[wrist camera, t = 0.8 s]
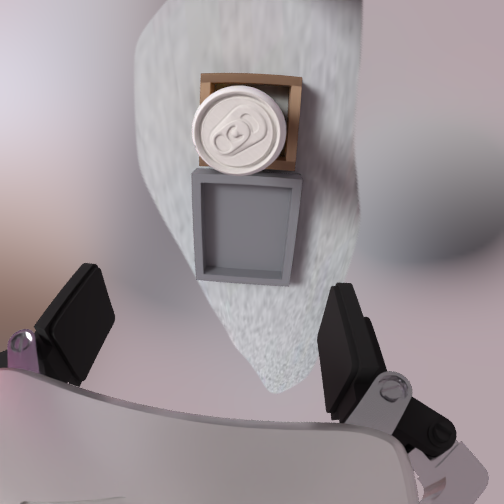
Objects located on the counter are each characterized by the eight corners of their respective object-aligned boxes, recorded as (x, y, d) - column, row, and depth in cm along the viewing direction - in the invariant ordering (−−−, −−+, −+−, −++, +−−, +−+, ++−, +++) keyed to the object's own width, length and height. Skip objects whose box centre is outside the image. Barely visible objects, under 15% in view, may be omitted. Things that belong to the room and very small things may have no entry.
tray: (196, 168, 32) (191, 173, 30) (300, 174, 32) (302, 179, 30) (200, 269, 39) (196, 279, 37) (287, 275, 39) (288, 286, 37)
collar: (206, 75, 27) (200, 73, 24) (299, 79, 27) (302, 77, 24) (205, 160, 32) (199, 166, 29) (292, 165, 32) (294, 171, 29)
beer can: (289, 124, 29) (307, 143, 16) (245, 155, 31) (228, 198, 18) (255, 82, 27) (245, 65, 14) (212, 115, 29) (168, 127, 16)
